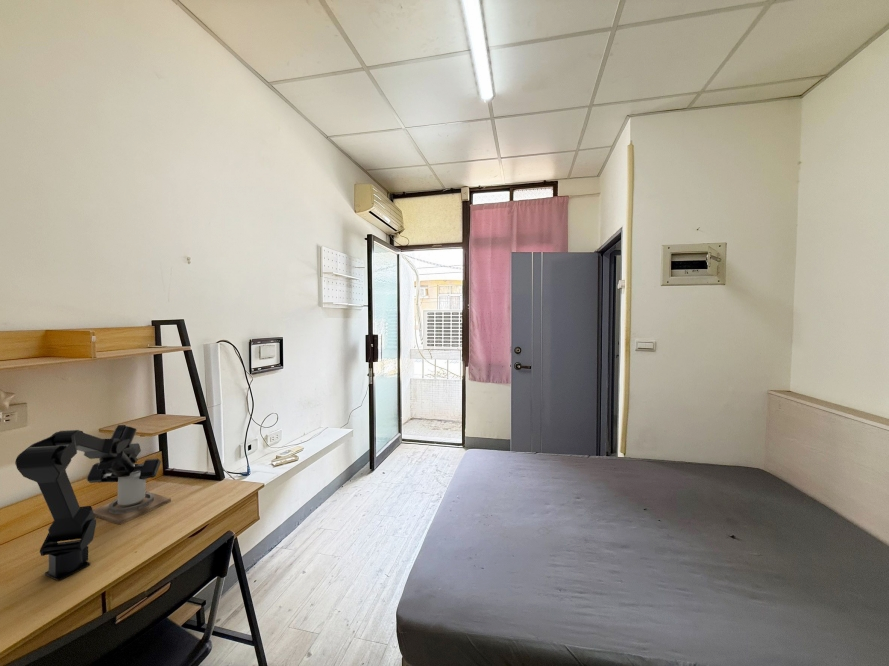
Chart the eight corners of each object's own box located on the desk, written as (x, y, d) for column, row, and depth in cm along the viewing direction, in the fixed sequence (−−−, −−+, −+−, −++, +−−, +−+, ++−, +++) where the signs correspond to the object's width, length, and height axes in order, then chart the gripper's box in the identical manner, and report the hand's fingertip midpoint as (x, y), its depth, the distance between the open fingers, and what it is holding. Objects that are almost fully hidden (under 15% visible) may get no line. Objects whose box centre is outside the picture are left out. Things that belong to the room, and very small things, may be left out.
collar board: (120, 524, 114) (120, 516, 114) (89, 514, 118) (89, 507, 118) (170, 501, 129) (171, 494, 129) (141, 493, 134) (142, 486, 133)
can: (138, 505, 121) (139, 472, 121) (112, 508, 119) (113, 474, 118) (149, 495, 128) (150, 464, 128) (124, 498, 126) (125, 466, 125)
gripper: (159, 437, 122) (171, 456, 133) (93, 441, 116) (111, 460, 127) (147, 467, 115) (162, 485, 125) (76, 473, 109) (97, 491, 119)
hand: (134, 479), depth 124 cm, fingers closed on can, 7 cm apart
